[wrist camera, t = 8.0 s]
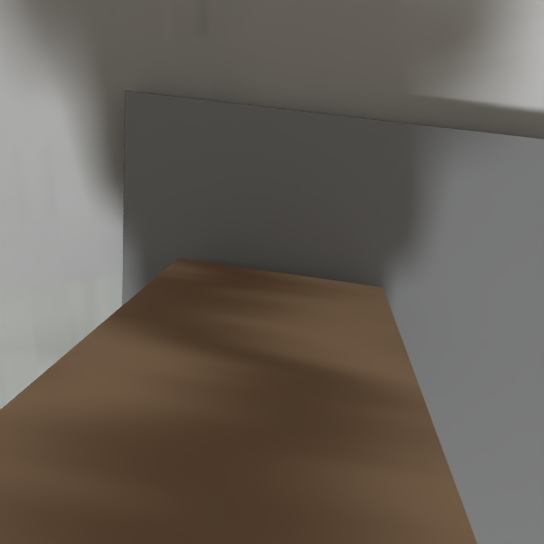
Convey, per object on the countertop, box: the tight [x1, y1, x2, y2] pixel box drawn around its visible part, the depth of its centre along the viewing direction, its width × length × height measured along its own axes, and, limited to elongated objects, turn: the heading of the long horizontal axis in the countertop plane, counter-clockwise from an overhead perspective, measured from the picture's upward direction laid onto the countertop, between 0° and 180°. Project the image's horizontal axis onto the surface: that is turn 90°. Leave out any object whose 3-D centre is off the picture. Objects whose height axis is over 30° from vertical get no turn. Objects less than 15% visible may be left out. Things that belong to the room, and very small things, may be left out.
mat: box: [122, 91, 544, 544], centre depth 15 cm, size 22×18×1 cm
